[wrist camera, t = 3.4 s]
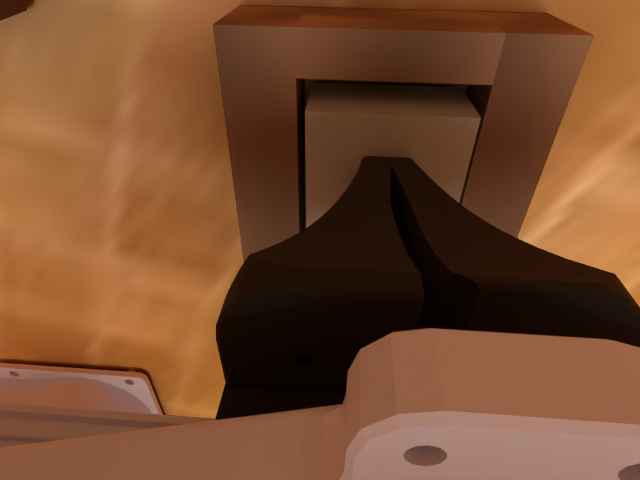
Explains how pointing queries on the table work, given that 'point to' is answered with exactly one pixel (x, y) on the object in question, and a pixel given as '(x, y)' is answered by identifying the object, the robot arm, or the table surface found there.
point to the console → (390, 69)
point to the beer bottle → (12, 7)
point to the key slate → (384, 135)
